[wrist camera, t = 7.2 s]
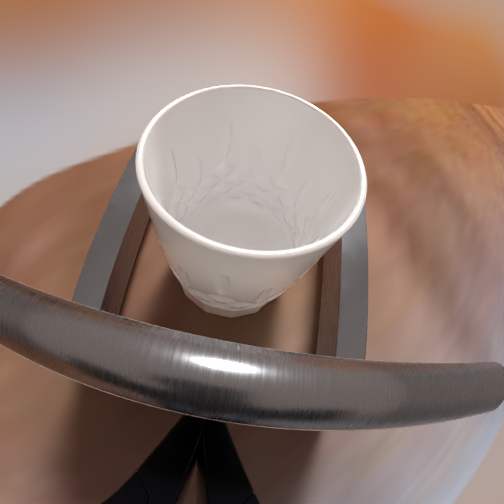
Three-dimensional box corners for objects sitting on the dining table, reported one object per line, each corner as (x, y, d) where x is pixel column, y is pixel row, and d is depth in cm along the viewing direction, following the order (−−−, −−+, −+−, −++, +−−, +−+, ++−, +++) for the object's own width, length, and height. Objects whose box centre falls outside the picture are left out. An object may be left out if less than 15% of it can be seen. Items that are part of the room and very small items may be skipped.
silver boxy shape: (334, 408, 15) (512, 411, 4) (82, 358, 14) (-81, 295, 3) (344, 203, 22) (429, 75, 11) (150, 162, 20) (134, 9, 10)
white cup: (272, 203, 21) (316, 85, 12) (308, 311, 18) (403, 234, 9) (159, 220, 19) (136, 93, 10) (178, 340, 16) (144, 283, 7)
